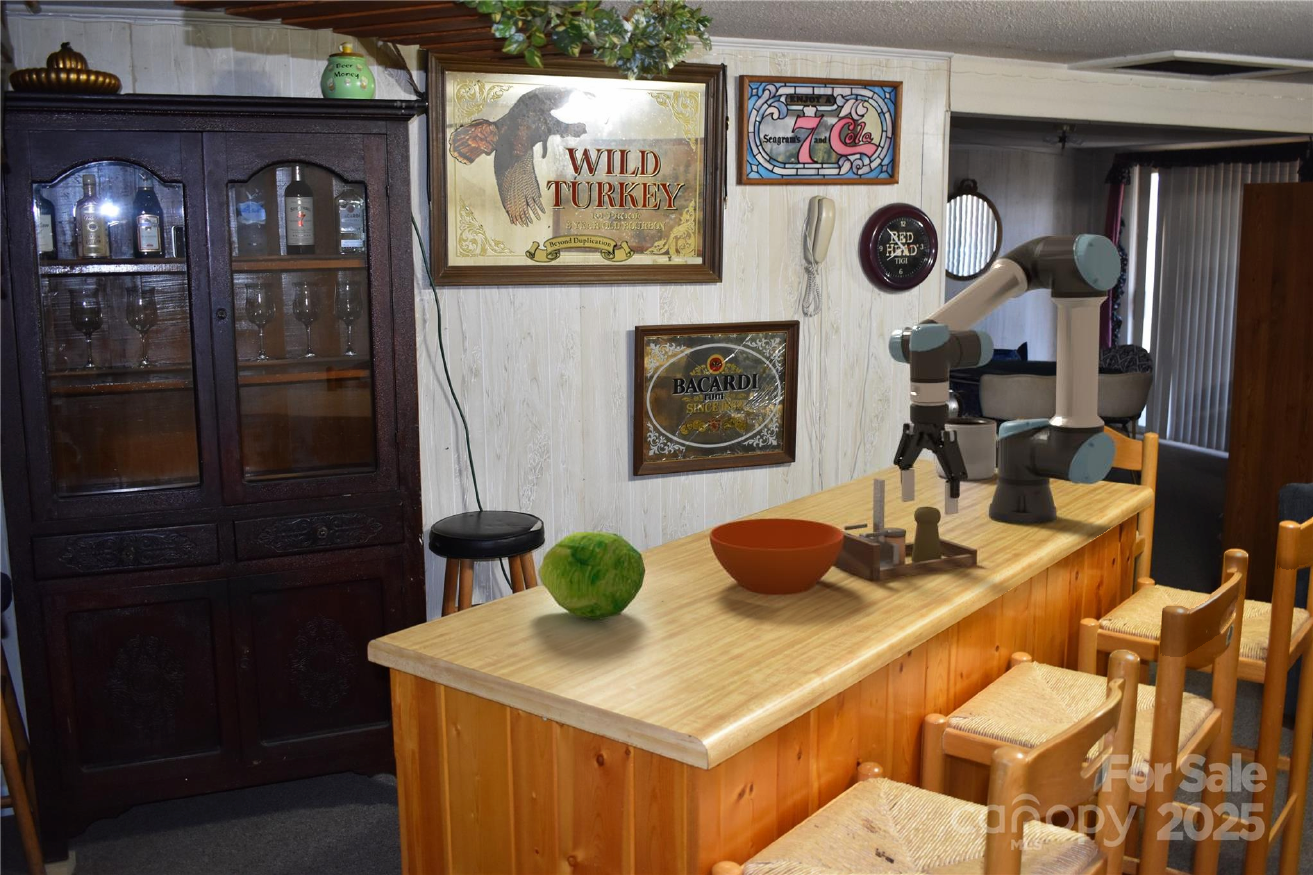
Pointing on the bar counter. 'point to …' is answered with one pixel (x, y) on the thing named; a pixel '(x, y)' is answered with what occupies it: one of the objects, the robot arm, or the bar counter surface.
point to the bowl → (776, 553)
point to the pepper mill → (926, 535)
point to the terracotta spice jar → (897, 541)
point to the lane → (866, 563)
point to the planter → (974, 446)
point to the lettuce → (593, 574)
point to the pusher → (882, 527)
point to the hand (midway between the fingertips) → (929, 507)
